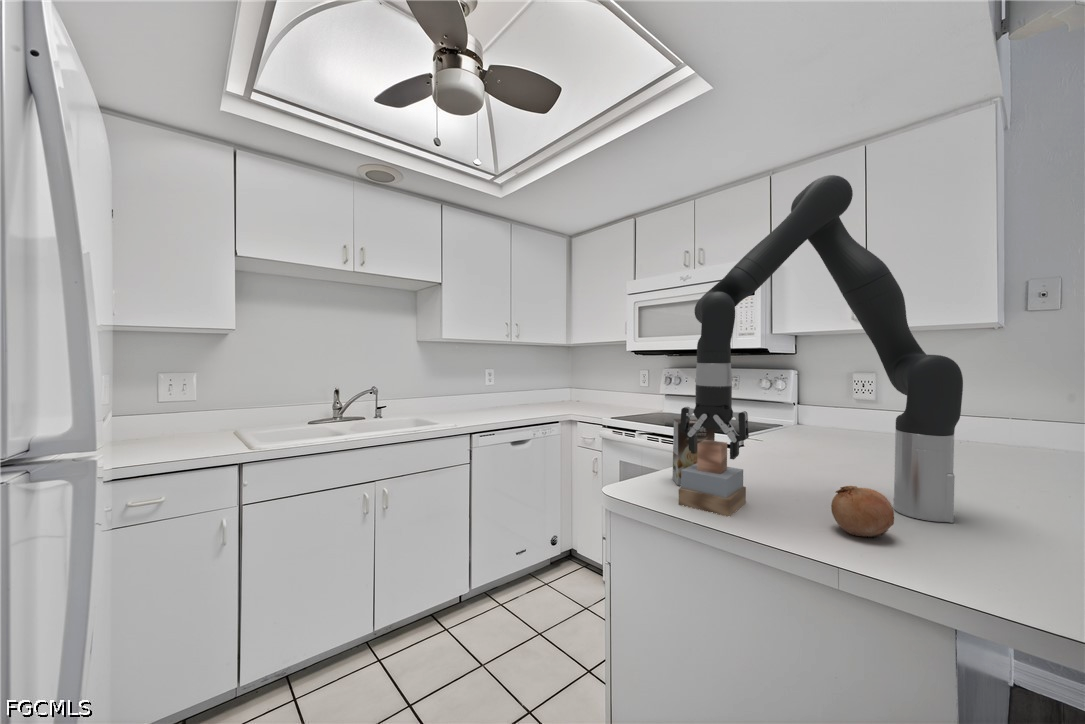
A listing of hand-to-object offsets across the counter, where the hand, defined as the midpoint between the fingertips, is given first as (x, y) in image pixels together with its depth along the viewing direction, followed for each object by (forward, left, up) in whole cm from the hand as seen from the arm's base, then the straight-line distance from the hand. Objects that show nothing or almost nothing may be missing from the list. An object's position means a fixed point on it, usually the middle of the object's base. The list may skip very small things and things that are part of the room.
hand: (712, 455), depth 98 cm
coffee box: (+9, -12, -11) cm, 19 cm away
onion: (-27, -1, -11) cm, 29 cm away
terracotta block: (0, 0, -3) cm, 3 cm away
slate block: (0, 0, -7) cm, 7 cm away
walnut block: (0, 0, -11) cm, 11 cm away
